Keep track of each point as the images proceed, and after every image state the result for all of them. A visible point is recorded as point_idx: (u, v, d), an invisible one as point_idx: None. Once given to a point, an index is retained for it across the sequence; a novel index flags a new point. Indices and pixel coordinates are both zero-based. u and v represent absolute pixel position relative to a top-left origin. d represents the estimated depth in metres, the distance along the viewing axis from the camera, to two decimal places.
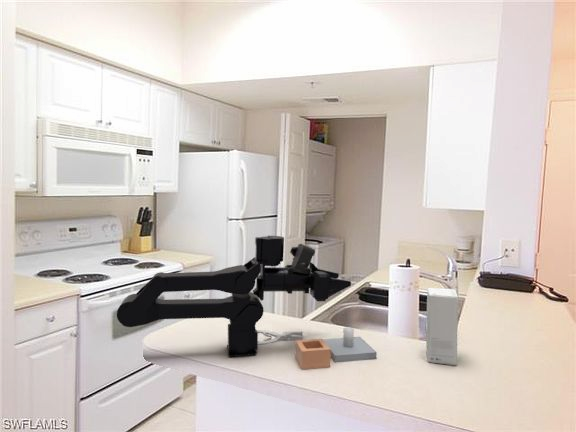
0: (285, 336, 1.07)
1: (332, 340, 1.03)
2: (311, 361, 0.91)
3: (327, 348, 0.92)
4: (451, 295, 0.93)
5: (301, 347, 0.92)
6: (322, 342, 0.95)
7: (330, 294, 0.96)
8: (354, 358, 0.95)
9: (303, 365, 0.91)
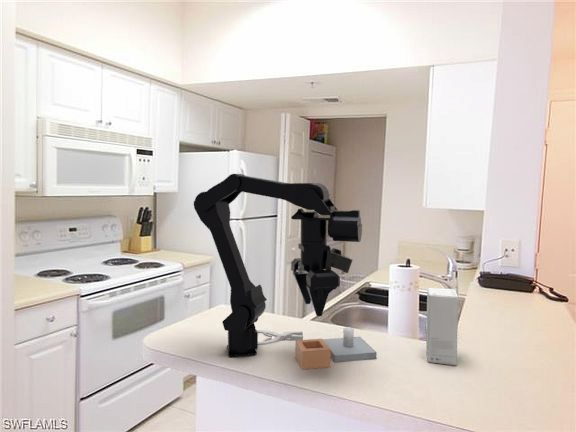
0: (285, 336, 1.07)
1: (332, 340, 1.03)
2: (311, 361, 0.91)
3: (327, 348, 0.92)
4: (451, 295, 0.93)
5: (301, 347, 0.92)
6: (322, 342, 0.95)
7: (312, 293, 0.86)
8: (354, 358, 0.95)
9: (303, 365, 0.91)
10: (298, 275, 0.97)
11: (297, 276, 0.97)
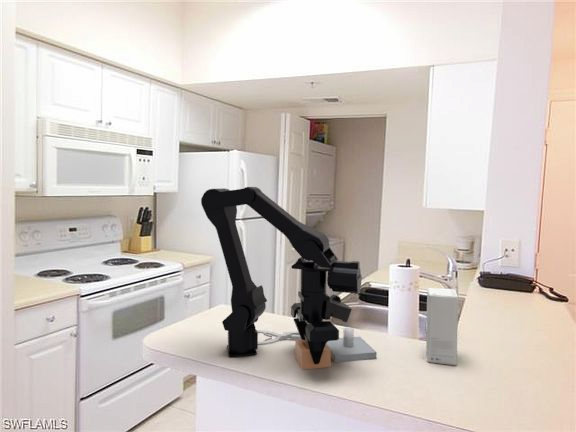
0: (285, 336, 1.07)
1: None
2: (311, 361, 0.91)
3: (327, 348, 0.92)
4: (451, 295, 0.93)
5: (301, 347, 0.92)
6: None
7: (309, 343, 0.88)
8: (354, 358, 0.95)
9: (303, 365, 0.91)
10: (299, 323, 0.97)
11: (298, 324, 0.97)
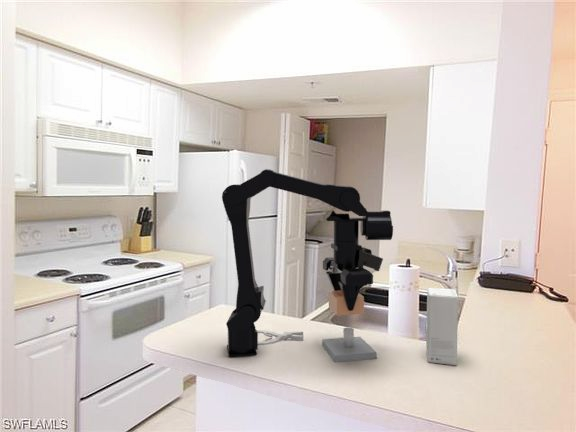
0: (286, 336, 1.07)
1: (332, 340, 1.03)
2: (345, 308, 0.95)
3: (360, 296, 0.96)
4: (451, 295, 0.93)
5: (335, 295, 0.96)
6: None
7: (344, 289, 0.92)
8: (354, 358, 0.95)
9: (338, 311, 0.95)
10: (332, 274, 1.01)
11: (331, 275, 1.01)
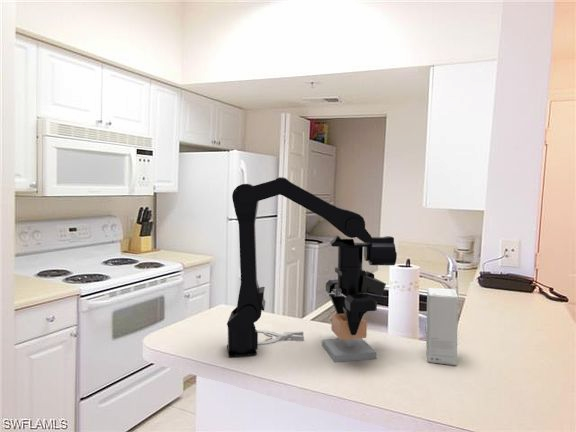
0: (286, 336, 1.07)
1: (332, 340, 1.03)
2: (349, 332, 0.96)
3: (363, 320, 0.98)
4: (451, 295, 0.93)
5: (339, 319, 0.98)
6: None
7: (348, 314, 0.94)
8: (354, 358, 0.95)
9: (341, 336, 0.96)
10: (335, 298, 1.03)
11: (334, 299, 1.03)
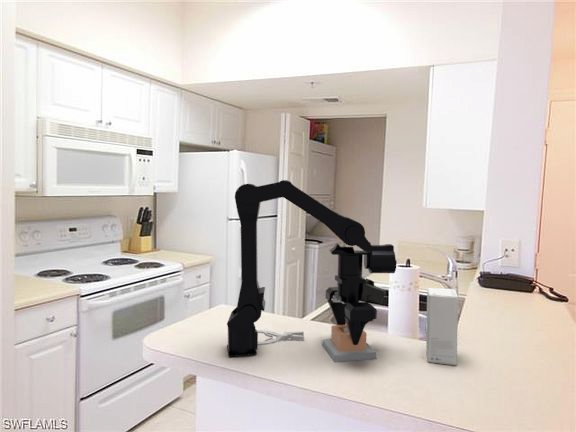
0: (286, 336, 1.07)
1: None
2: (348, 344, 0.97)
3: (363, 332, 0.98)
4: (451, 295, 0.93)
5: (338, 331, 0.98)
6: None
7: (350, 324, 0.93)
8: (354, 358, 0.95)
9: (341, 348, 0.96)
10: (333, 304, 1.04)
11: (332, 305, 1.04)
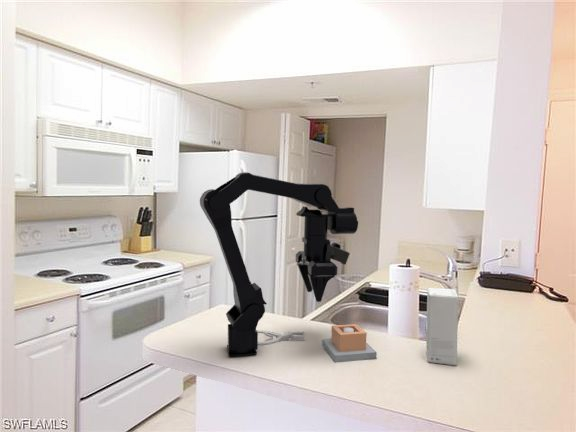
0: (286, 336, 1.07)
1: None
2: (348, 344, 0.97)
3: (363, 332, 0.98)
4: (451, 295, 0.93)
5: (338, 331, 0.98)
6: (357, 327, 1.01)
7: (312, 281, 0.98)
8: (354, 358, 0.95)
9: (341, 348, 0.96)
10: (301, 266, 1.09)
11: (300, 266, 1.09)
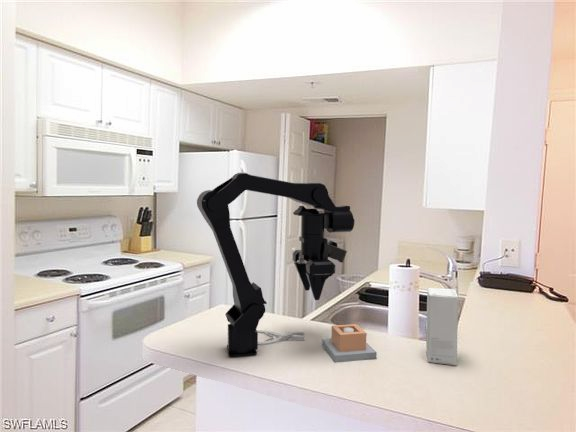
0: (287, 336, 1.07)
1: None
2: (348, 344, 0.97)
3: (363, 332, 0.98)
4: (451, 295, 0.93)
5: (338, 331, 0.98)
6: (357, 327, 1.01)
7: (310, 279, 0.98)
8: (354, 358, 0.95)
9: (341, 348, 0.96)
10: (299, 264, 1.10)
11: (298, 265, 1.10)
